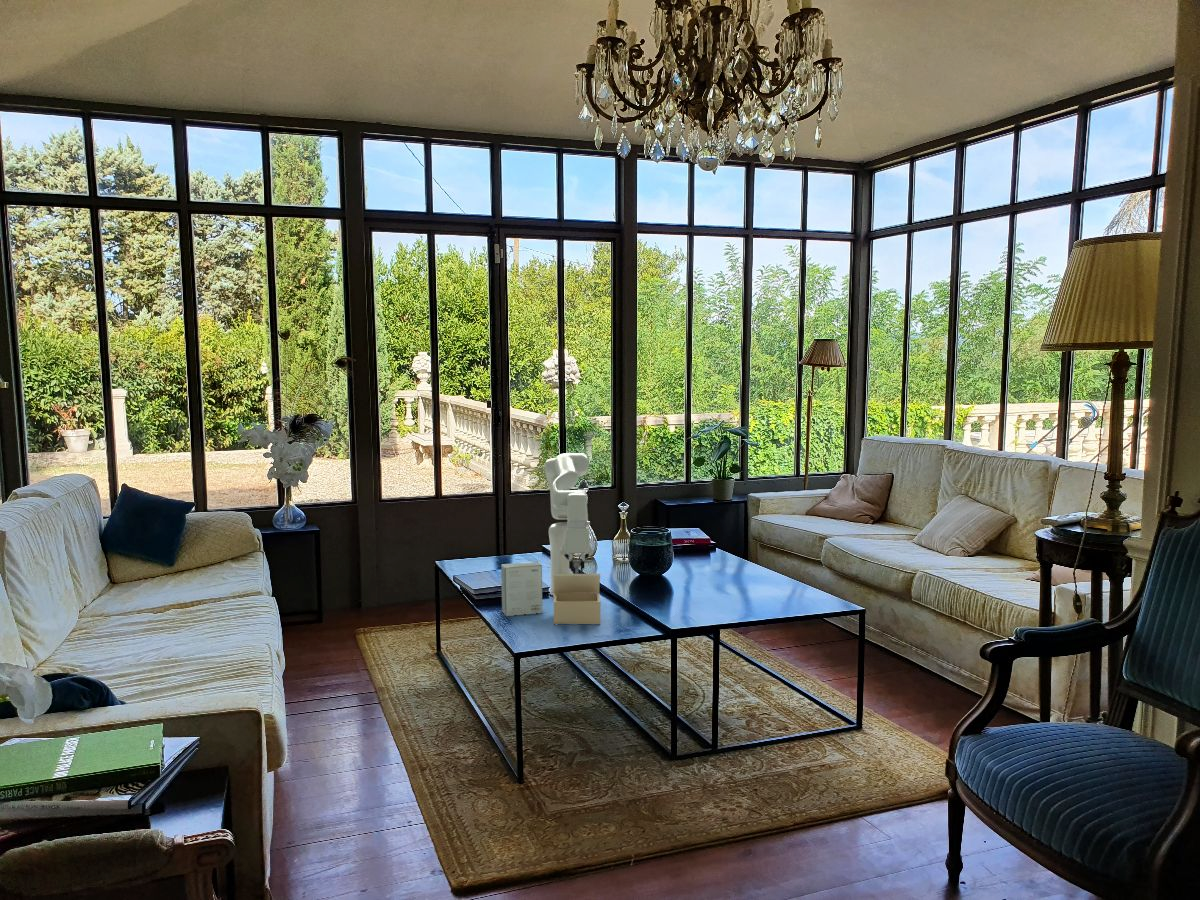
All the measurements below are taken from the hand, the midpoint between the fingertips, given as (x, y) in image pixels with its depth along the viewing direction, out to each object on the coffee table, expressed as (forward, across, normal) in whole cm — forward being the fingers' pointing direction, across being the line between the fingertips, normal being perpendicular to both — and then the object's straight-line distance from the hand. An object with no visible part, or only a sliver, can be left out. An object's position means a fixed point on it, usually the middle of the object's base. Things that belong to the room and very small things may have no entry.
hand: (576, 570), depth 333 cm
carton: (+19, 0, +2) cm, 20 cm away
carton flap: (+6, 0, 0) cm, 6 cm away
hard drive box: (+20, +22, -9) cm, 31 cm away
